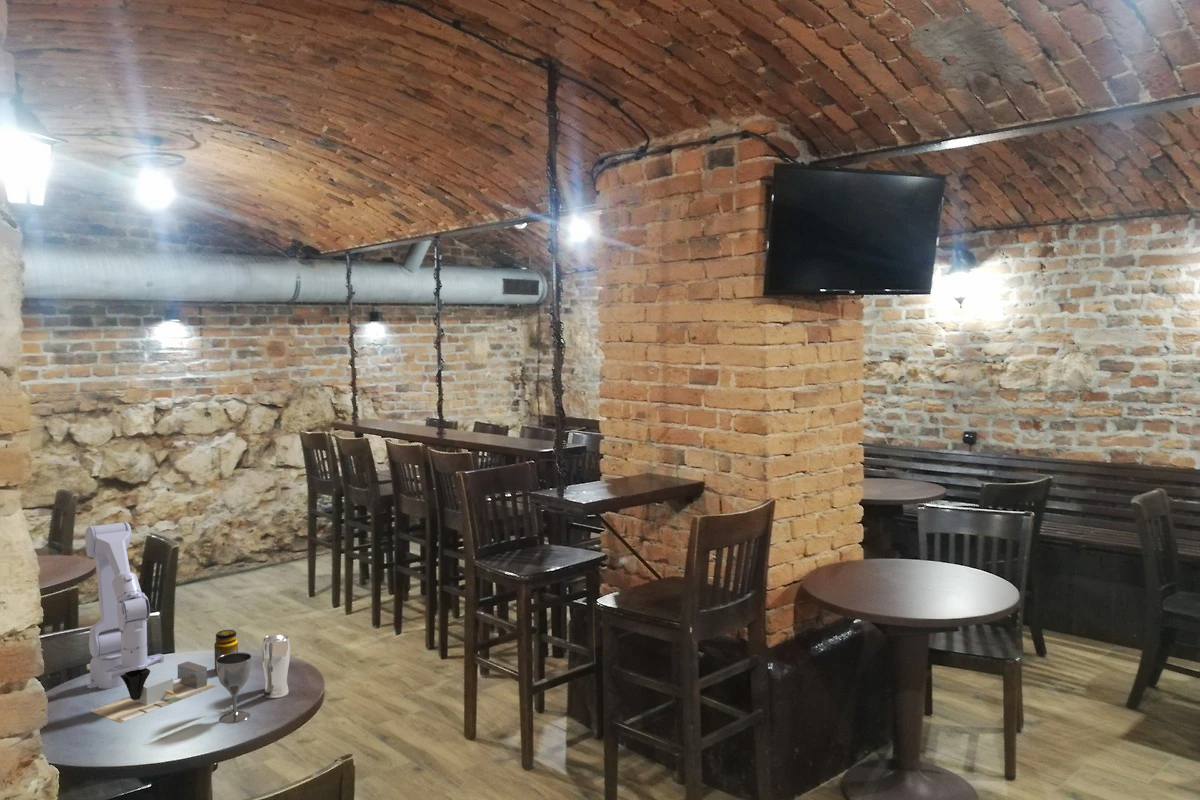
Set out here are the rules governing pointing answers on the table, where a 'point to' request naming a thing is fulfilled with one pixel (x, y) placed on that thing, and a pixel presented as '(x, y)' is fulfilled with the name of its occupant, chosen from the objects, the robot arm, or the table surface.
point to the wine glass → (234, 681)
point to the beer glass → (276, 664)
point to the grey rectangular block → (192, 675)
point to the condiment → (225, 644)
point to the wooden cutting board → (132, 709)
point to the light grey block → (157, 689)
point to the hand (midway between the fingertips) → (135, 698)
